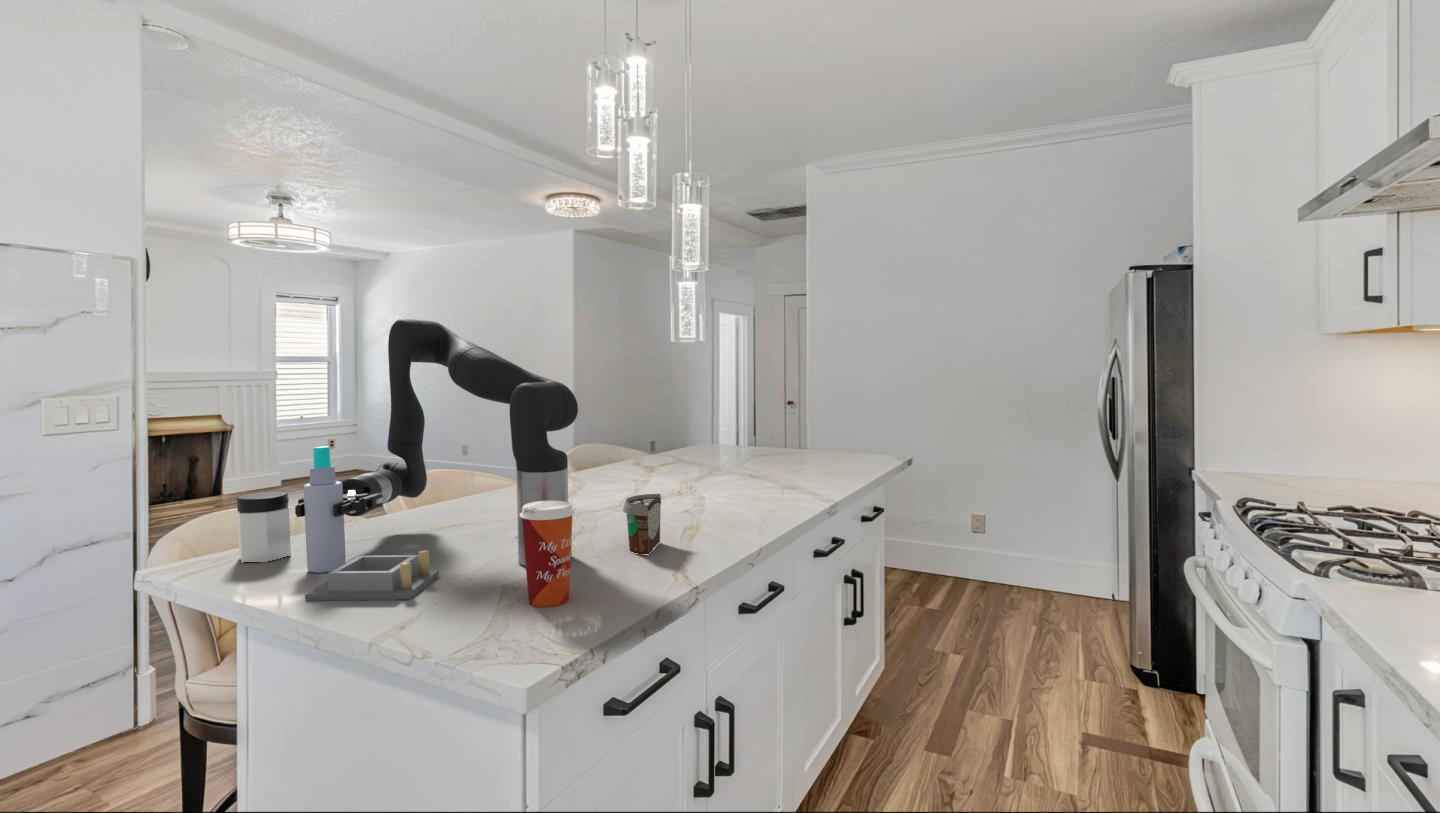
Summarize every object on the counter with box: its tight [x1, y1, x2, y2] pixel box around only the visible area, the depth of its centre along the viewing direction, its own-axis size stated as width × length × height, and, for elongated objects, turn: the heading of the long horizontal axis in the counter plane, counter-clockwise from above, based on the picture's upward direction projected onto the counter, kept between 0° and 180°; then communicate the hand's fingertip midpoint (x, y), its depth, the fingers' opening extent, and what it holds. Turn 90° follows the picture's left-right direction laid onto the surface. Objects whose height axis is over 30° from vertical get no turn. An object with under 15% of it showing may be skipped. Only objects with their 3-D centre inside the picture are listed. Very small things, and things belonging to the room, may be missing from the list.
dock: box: [304, 549, 440, 602], centre depth 114 cm, size 16×12×5 cm
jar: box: [236, 491, 292, 564], centre depth 132 cm, size 9×8×12 cm
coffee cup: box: [519, 501, 576, 608], centre depth 107 cm, size 8×8×15 cm
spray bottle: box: [303, 445, 347, 574], centre depth 124 cm, size 6×6×22 cm
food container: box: [622, 493, 662, 555], centre depth 137 cm, size 12×6×10 cm, turn 172°
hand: (317, 511), depth 121 cm, fingers closed on spray bottle, 6 cm apart
